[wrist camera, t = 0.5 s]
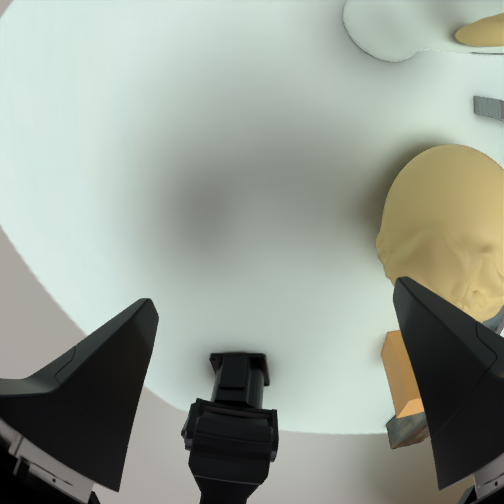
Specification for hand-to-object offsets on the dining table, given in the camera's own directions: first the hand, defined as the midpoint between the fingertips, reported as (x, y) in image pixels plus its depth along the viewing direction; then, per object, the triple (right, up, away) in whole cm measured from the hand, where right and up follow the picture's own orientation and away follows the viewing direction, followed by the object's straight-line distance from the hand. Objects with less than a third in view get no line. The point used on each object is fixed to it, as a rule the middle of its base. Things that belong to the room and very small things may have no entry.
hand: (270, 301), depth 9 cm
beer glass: (+9, +18, +3) cm, 20 cm away
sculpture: (+14, +6, +10) cm, 18 cm away
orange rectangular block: (+16, -9, +18) cm, 26 cm away
